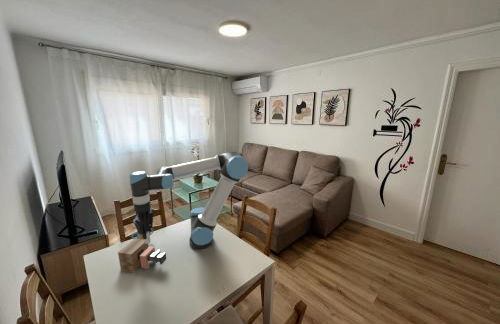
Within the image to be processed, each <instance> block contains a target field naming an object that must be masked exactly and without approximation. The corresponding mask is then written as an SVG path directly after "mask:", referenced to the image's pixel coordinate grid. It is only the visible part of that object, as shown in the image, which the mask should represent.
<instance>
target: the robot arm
mask: <svg viewBox="0 0 500 324" xmlns="http://www.w3.org/2000/svg"><path fill="white" fill-rule="evenodd" d="M215 170H219V171H220V172H219V173H220V178H219V179H218V181H217V184H216V185H215V188H214V190H213V192H212V193H211V195H210V198H209V199H208V201H207V204H206V205H205V207H196V208H193V209H191V210H190V212H189V216H190V217H189V218H190V236H189V240H188V241H189V242H188V243H189V244H188V245H189V246H190V248H192V249H193V250H194V249H195V250H204V249H207V248H209V247H211V245H212V244H213V243H214V231H215V229H216V226H217V225H218V222H217V219H218V217H219V215H220V213H221V211H222V210H223V207H224V205H225V203H226V202H227V200H228V197H229V196H230V194H231V192H232V190H233V188H234V186H235V184H238V183H239V182H240V180H241V179H242V178H244V177H245V176H246V174H247V173H248V170H249V164H248V161H247V159H245V157H243V156H242V155H241V154H240V153H239V152H236V151H227V152H223V153H218V154H216V155H215V156H213V157H207V158H203V159H198V160H195V161H190V162H186V163H185V162H184V163H181V164H177V165H176V164H175V165H171V166H166V165H164V166H163V165H162V166H161V167H159V168H158V169H157V171H156V174H152V175H151V174H150V175H149V174H148V173H147V172H146V171H145V170H142V171H141V170H139V171H134V172H131V173H130V175H129V184H130V190H131V196H132V203H133V209H134V212H135V217H134V219H132V220H131V222H132V223H133V225H134V226H135V229H136V231H137V233H138V234H142V236H143V239H144V243H146V244H148V245H149V244H151V235H150V233H151V232H152V231H151V230H153V225H154V213H155V209H153V208H151V207H152V205H151V201H150V200H151V199H150V198H151V196H150V191H156V190H167V189H173V188H174V183H175V182H174V180H175V179H176V180H177V179H181V178H184V177H188V176H193V175H198V174H203V173H206V172H211V171H215ZM138 234H137V235H138Z"/></svg>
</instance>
